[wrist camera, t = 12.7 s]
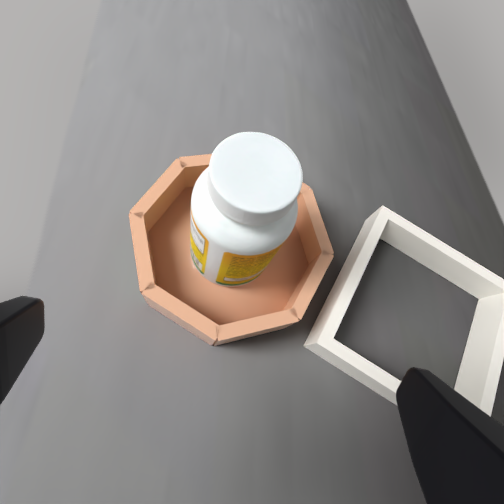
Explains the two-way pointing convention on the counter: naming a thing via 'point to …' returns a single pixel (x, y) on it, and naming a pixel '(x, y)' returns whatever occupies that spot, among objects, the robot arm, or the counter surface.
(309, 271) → the bowl
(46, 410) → the counter surface
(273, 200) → the supplement bottle
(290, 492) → the counter surface
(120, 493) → the counter surface
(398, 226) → the tray
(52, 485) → the counter surface
